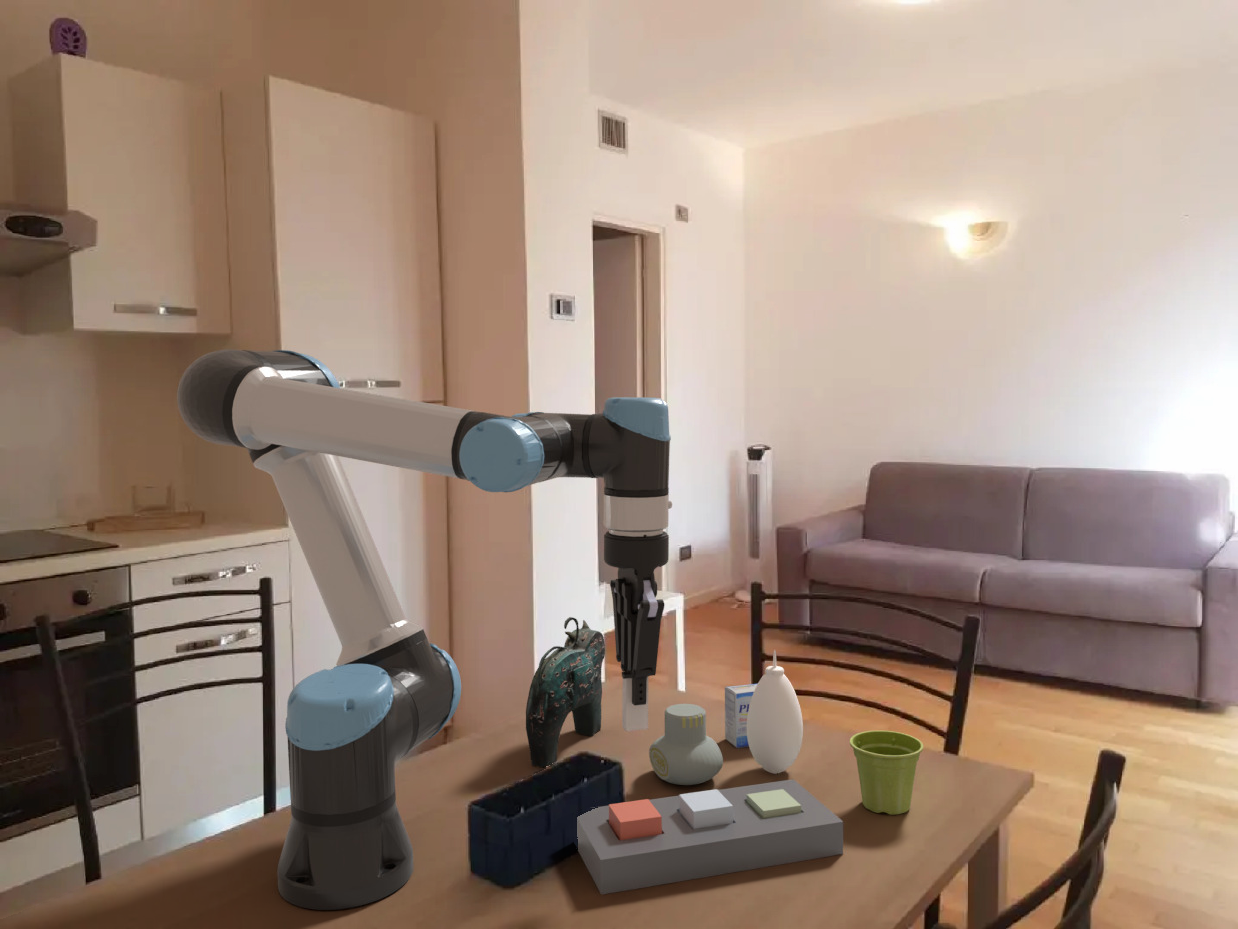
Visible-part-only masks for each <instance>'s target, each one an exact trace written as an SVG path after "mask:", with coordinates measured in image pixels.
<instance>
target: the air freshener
mask: <svg viewBox="0 0 1238 929" xmlns="http://www.w3.org/2000/svg"><path fill="white" fill-rule="evenodd" d="M706 714H707V711H706V710H705V709H704V708H703V707H702V706H701V705H698V704H692V703H677V704H676V703H675V704H672V705H669V706H668V707H666V709H665V710H664V735H661V736H660V737H658V738H657V739H656V740H655V741H654V742H652V743H651V745H650V746H649V749H648V756H649V761H650V765H651V766H652V769H653V771H654V773H655V774H656V775H657V776H658V778H660V779H661V780H663V781H665V782H667V783H669V784H672V785H677V786H678V785H679V786H696V785H699V784H702V783H705V782H707V781H710V780H712V779H713V778H714V777H716V775H718V774H719V772H720V771H721V770H722V768H723V765H724V758H723V754H722V752H721V751H722V750H721V749H720V747H719V745H718V744H717V742H716V741H715V740H714V739H713V738H712V737H710V736H708V735H707V718H706V716H707V715H706Z"/></svg>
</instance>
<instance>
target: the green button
mask: <svg viewBox="0 0 1238 929" xmlns="http://www.w3.org/2000/svg"><path fill="white" fill-rule="evenodd" d="M747 804H748V805H749V806H750V807H751V808H752V809H753V810H754V811H755V812H756V813H757V814H758V815H759V816H760V817H761V818H762V819H764V818H770V817H777V816H783V815H790V814H797V813H801V805H800V804H799V803H798V802H797V801H796V800H795V799H793V798H792V797H791V796H790V795H789V794H788V793H787V792H786V791H785V790H783V789H780V790H773V791H766V792H759V793H752V794H747Z"/></svg>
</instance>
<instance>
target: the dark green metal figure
mask: <svg viewBox="0 0 1238 929" xmlns="http://www.w3.org/2000/svg"><path fill="white" fill-rule="evenodd" d="M571 621H573V622H574V623H575V625H576V626H575V628H576V629H574V630H572V631H564V633H565V635H567V637H566V639H565V642H564V646H560V645H556V646H555V645H554V646H553V647H551V648H549V649H548V650H547V651H545V653H544V654H543V656H542V657H541V659H540V661H539V663H538V667H537V669H536V670H535V673H534V674H533V678H532V680H531V683H530V686H529V690H528V697H527V701H526V706H525V731H526V737H527V743H528V746H529V754H530V755H529V756H530V764H531V766H533V765H534V766H533V767H537V766H539V767H538V768H543V767H546V766H549V765H552V763H554V762H555V763H557V760H558V747H559V740H560V735H561V731H562V729H563V726H564V724H565V721H566V719H567V717H568V715H569V714H570V713H572V719H573V725H574V731H575V733H576V734H578V735H582V736H591V737H593V736H594V735H595V733H596V734H597V733H598V732H599V731H601V728H602V696H603V685H602V683H603V682H602V666H603V662H604V659H605V657H606V656H605V655H606V644H605V637H604V634H603V633H602V632H601V631H598V630H593V629H591V627H590V626H589V625H588V624H587V622H586V621H585V620H584V619H583V620H582V627H581V628H579V621H578V619H577V618H576V617H574V616H573V617H572V616H569V617H568V618H567V619H566V620H564V624H563V627H564V629H565V630H566V629H567V627H568V625H569V623H570V622H571ZM551 652H552V653H551ZM555 763H554V764H555ZM552 766H553V765H552Z"/></svg>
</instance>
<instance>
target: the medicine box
mask: <svg viewBox="0 0 1238 929" xmlns="http://www.w3.org/2000/svg"><path fill="white" fill-rule="evenodd" d="M757 684H758V683H751V684H743V685H732V686H725V687H724V738H725V739H726V741H728V742H729V744H731V745H733V746H734V747H735V748H736V749H740V748H748V747H749V744H748V739H747V716H748V710H749V706H750V702H751V699H752V696H753V693H754V691H755V688H756V686H757ZM749 748H750V747H749Z"/></svg>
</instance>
